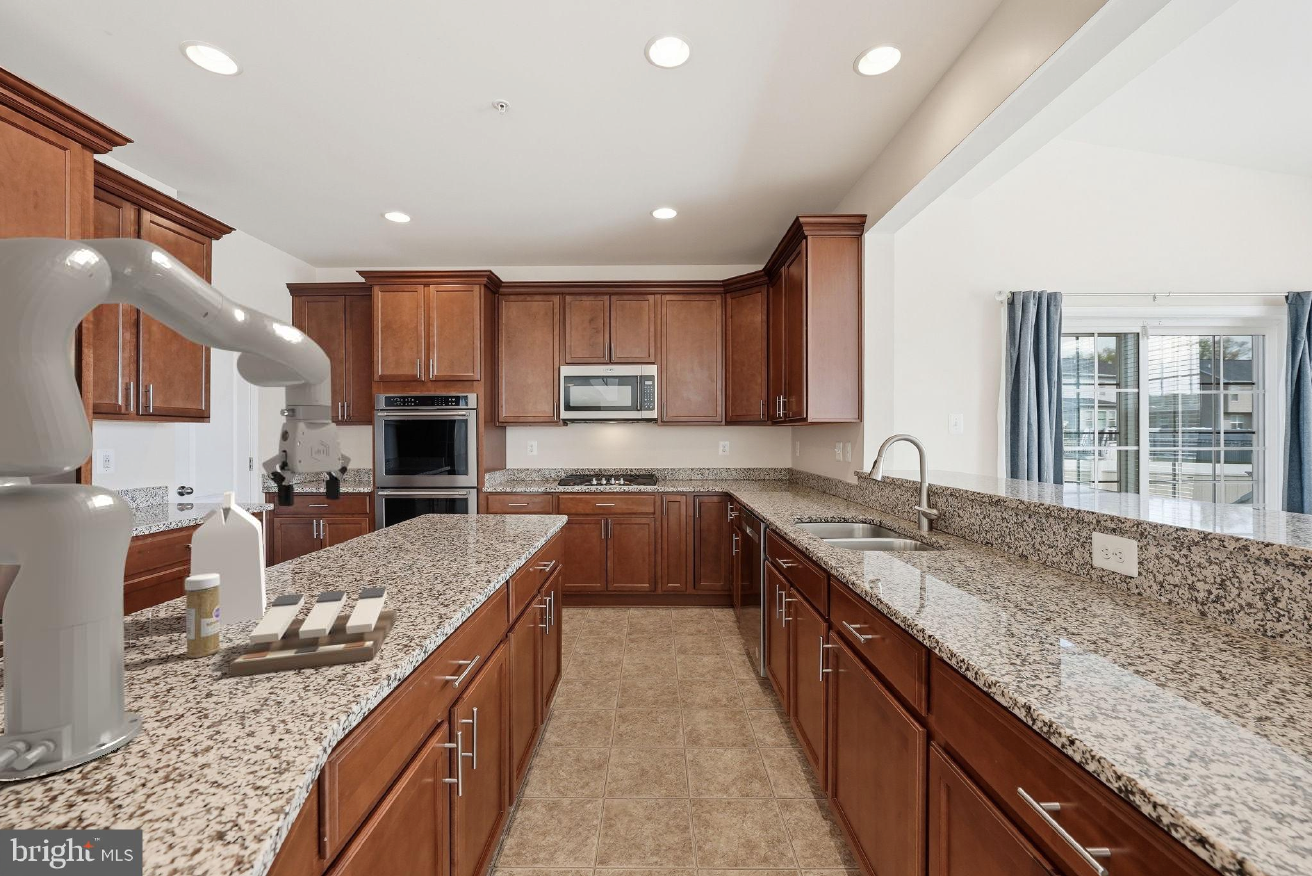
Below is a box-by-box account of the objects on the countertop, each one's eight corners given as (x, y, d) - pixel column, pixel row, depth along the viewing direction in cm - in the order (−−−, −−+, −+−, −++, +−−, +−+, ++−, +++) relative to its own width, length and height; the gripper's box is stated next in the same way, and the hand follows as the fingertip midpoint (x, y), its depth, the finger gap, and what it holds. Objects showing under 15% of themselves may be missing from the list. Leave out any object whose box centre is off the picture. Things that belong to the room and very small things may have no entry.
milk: (263, 619, 107) (261, 493, 107) (188, 631, 100) (187, 497, 100) (266, 604, 117) (265, 488, 117) (198, 614, 110) (197, 492, 110)
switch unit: (372, 659, 86) (372, 635, 86) (230, 676, 81) (229, 650, 81) (396, 619, 106) (396, 600, 106) (282, 630, 100) (282, 610, 100)
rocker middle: (326, 635, 88) (325, 625, 88) (299, 638, 87) (298, 628, 87) (346, 598, 100) (345, 589, 99) (322, 600, 99) (321, 591, 98)
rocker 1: (278, 640, 86) (277, 630, 86) (250, 643, 85) (249, 633, 85) (304, 602, 98) (303, 593, 97) (279, 604, 97) (278, 595, 96)
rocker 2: (372, 631, 90) (371, 621, 90) (346, 633, 89) (345, 624, 89) (386, 595, 102) (386, 586, 101) (364, 597, 100) (363, 588, 100)
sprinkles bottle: (218, 654, 89) (217, 576, 89) (183, 661, 87) (182, 580, 87) (222, 645, 93) (221, 570, 93) (188, 652, 91) (187, 574, 91)
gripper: (278, 414, 93) (280, 509, 93) (361, 416, 109) (362, 497, 110) (249, 415, 96) (251, 508, 96) (334, 417, 112) (336, 496, 112)
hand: (310, 502), depth 103 cm, fingers open, 9 cm apart
